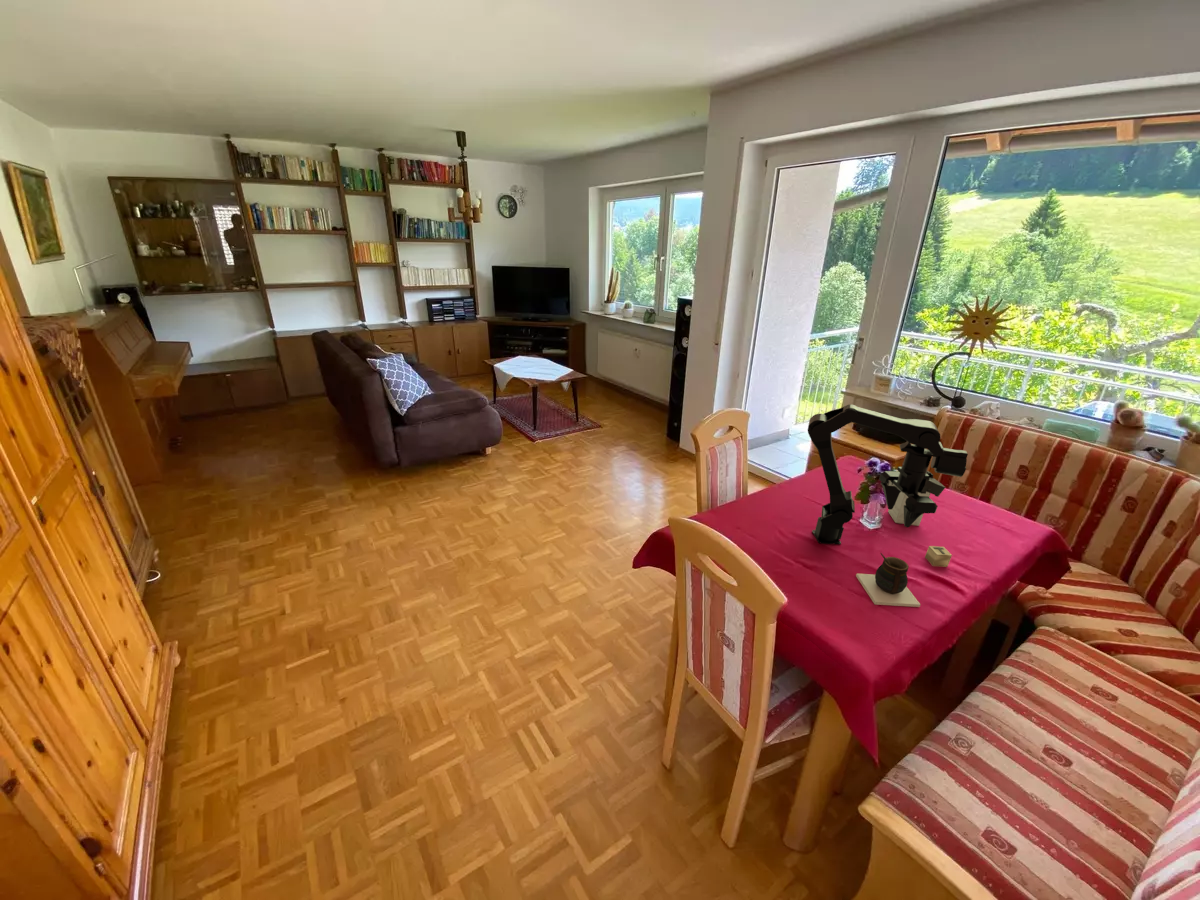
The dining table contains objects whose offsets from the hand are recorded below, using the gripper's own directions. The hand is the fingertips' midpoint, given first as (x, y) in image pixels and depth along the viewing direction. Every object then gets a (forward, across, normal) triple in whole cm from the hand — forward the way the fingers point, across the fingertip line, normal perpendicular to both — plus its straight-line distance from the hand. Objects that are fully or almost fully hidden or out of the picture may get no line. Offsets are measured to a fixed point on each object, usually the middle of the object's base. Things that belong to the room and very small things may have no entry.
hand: (898, 517), depth 137 cm
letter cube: (+12, -3, -12) cm, 18 cm away
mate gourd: (+11, -17, +8) cm, 22 cm away
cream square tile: (+12, -17, +8) cm, 22 cm away
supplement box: (+12, +20, -15) cm, 28 cm away
